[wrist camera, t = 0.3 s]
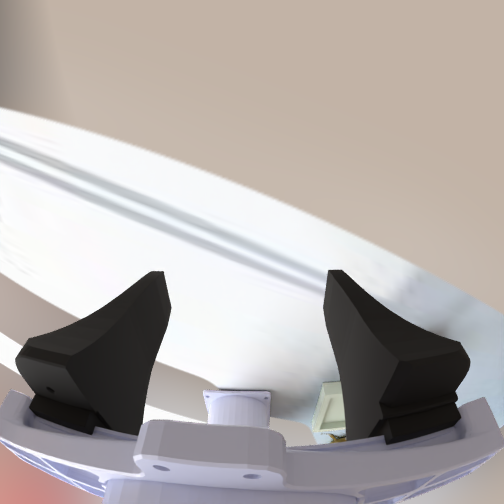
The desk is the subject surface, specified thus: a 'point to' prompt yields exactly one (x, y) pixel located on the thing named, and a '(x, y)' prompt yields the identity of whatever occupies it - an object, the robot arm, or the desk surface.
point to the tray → (329, 409)
